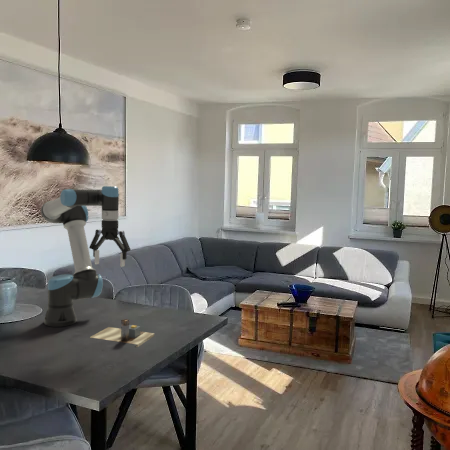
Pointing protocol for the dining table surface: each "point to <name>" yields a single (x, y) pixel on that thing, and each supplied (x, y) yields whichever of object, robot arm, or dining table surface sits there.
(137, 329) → the block
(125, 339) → the metal cylinder
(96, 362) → the dining table surface
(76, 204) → the robot arm
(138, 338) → the board
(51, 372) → the dining table surface
